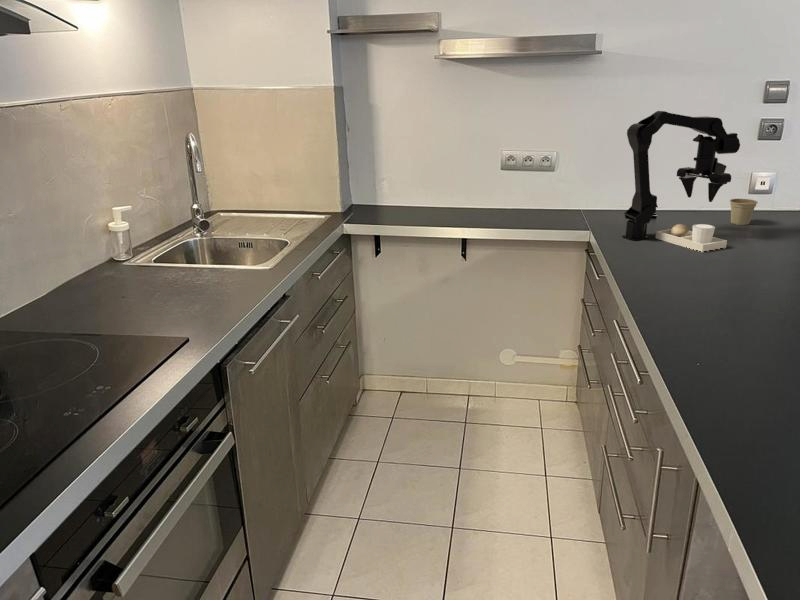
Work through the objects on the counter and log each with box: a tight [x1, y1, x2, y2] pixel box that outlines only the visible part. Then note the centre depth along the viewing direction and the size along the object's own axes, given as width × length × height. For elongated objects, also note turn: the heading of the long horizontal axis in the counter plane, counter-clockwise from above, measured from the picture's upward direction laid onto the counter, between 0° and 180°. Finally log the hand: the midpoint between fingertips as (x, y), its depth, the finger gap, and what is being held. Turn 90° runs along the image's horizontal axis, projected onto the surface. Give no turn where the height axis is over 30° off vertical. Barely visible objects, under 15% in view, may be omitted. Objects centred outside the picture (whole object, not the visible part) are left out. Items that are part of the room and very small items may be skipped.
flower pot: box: [729, 198, 759, 226], centre depth 232 cm, size 9×9×9 cm
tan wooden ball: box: [670, 223, 689, 237], centre depth 214 cm, size 6×6×6 cm
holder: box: [655, 228, 728, 253], centre depth 211 cm, size 11×20×2 cm, turn 23°
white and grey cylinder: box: [691, 223, 716, 244], centre depth 206 cm, size 7×7×7 cm
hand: (699, 199), depth 218 cm, fingers open, 9 cm apart
